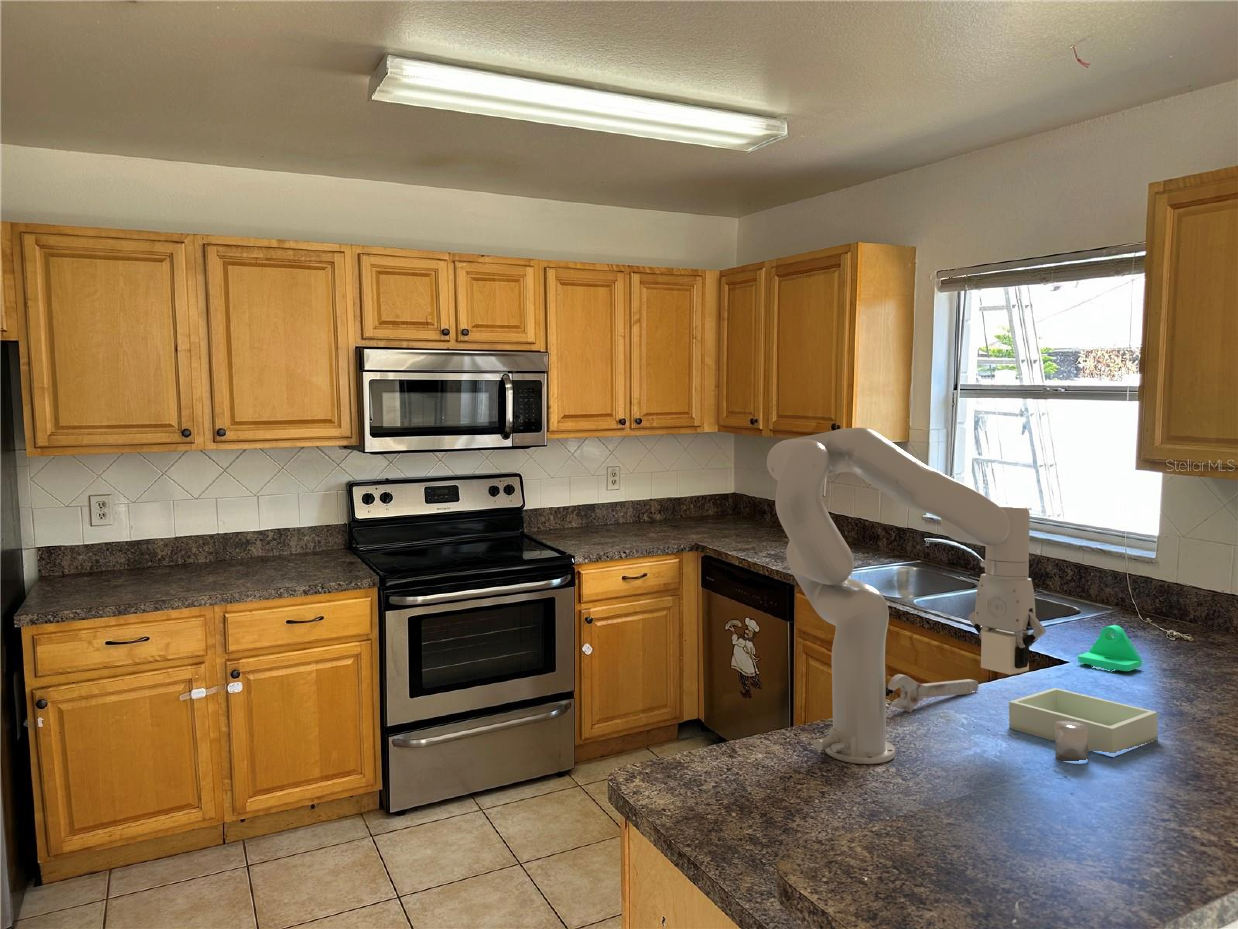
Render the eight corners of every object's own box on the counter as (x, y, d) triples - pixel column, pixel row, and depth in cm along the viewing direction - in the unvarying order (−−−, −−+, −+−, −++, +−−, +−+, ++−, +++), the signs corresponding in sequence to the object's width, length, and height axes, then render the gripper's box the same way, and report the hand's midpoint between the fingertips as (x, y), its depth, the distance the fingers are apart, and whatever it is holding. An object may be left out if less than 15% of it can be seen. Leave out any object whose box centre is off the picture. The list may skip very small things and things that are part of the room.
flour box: (1009, 674, 157) (1010, 637, 157) (980, 667, 162) (981, 631, 162) (1028, 670, 160) (1029, 633, 160) (999, 663, 165) (1000, 628, 165)
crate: (1112, 758, 151) (1112, 728, 151) (1009, 728, 168) (1008, 701, 168) (1157, 739, 160) (1157, 712, 160) (1055, 713, 177) (1054, 687, 177)
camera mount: (1076, 666, 213) (1076, 625, 213) (1091, 661, 217) (1090, 621, 217) (1127, 676, 203) (1127, 633, 203) (1141, 670, 208) (1141, 629, 207)
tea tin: (1078, 766, 148) (1077, 732, 148) (1049, 757, 152) (1049, 724, 152) (1094, 760, 151) (1093, 726, 150) (1065, 751, 155) (1065, 719, 155)
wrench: (978, 705, 193) (892, 715, 176) (970, 703, 194) (885, 713, 178) (979, 669, 193) (895, 676, 176) (972, 668, 195) (887, 674, 178)
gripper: (954, 565, 166) (952, 656, 166) (1038, 576, 152) (1036, 676, 152) (978, 562, 170) (976, 652, 170) (1062, 574, 156) (1059, 671, 156)
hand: (1004, 662), depth 161 cm, fingers closed on flour box, 6 cm apart
